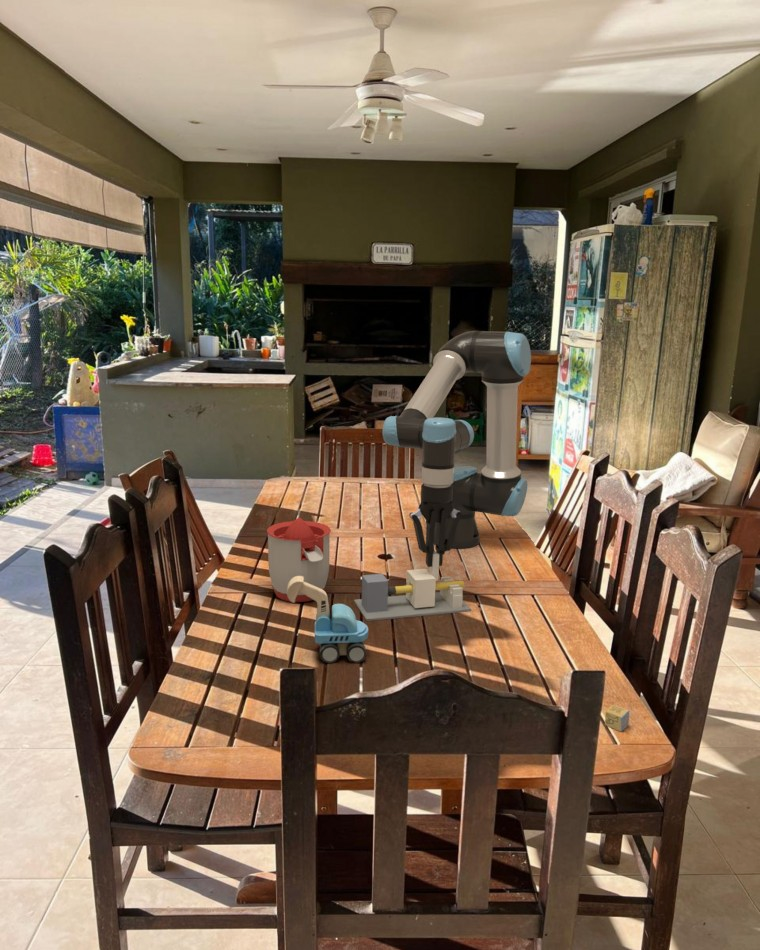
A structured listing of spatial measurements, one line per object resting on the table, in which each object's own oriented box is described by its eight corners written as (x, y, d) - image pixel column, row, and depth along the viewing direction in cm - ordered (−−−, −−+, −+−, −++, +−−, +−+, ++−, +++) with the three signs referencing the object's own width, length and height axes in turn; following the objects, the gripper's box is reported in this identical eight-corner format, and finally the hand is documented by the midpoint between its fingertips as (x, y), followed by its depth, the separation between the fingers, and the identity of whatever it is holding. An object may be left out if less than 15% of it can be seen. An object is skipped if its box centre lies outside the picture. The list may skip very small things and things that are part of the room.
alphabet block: (620, 732, 131) (622, 716, 130) (604, 725, 133) (605, 710, 132) (628, 725, 133) (630, 710, 133) (611, 719, 135) (613, 703, 135)
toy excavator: (288, 646, 161) (287, 569, 157) (366, 644, 162) (367, 569, 159) (286, 664, 153) (286, 585, 149) (369, 663, 154) (370, 584, 150)
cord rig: (453, 592, 192) (454, 562, 191) (471, 611, 181) (473, 579, 179) (354, 601, 185) (354, 570, 184) (366, 621, 174) (367, 588, 172)
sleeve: (425, 595, 188) (426, 568, 186) (434, 606, 181) (435, 578, 180) (405, 597, 186) (406, 570, 185) (414, 608, 180) (415, 580, 178)
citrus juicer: (287, 614, 177) (286, 532, 173) (257, 590, 192) (256, 514, 187) (345, 601, 185) (346, 523, 181) (312, 579, 200) (312, 506, 195)
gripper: (457, 479, 183) (452, 571, 188) (405, 481, 180) (403, 575, 185) (469, 486, 176) (464, 581, 181) (416, 489, 173) (413, 586, 178)
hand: (433, 578), depth 183 cm, fingers closed
